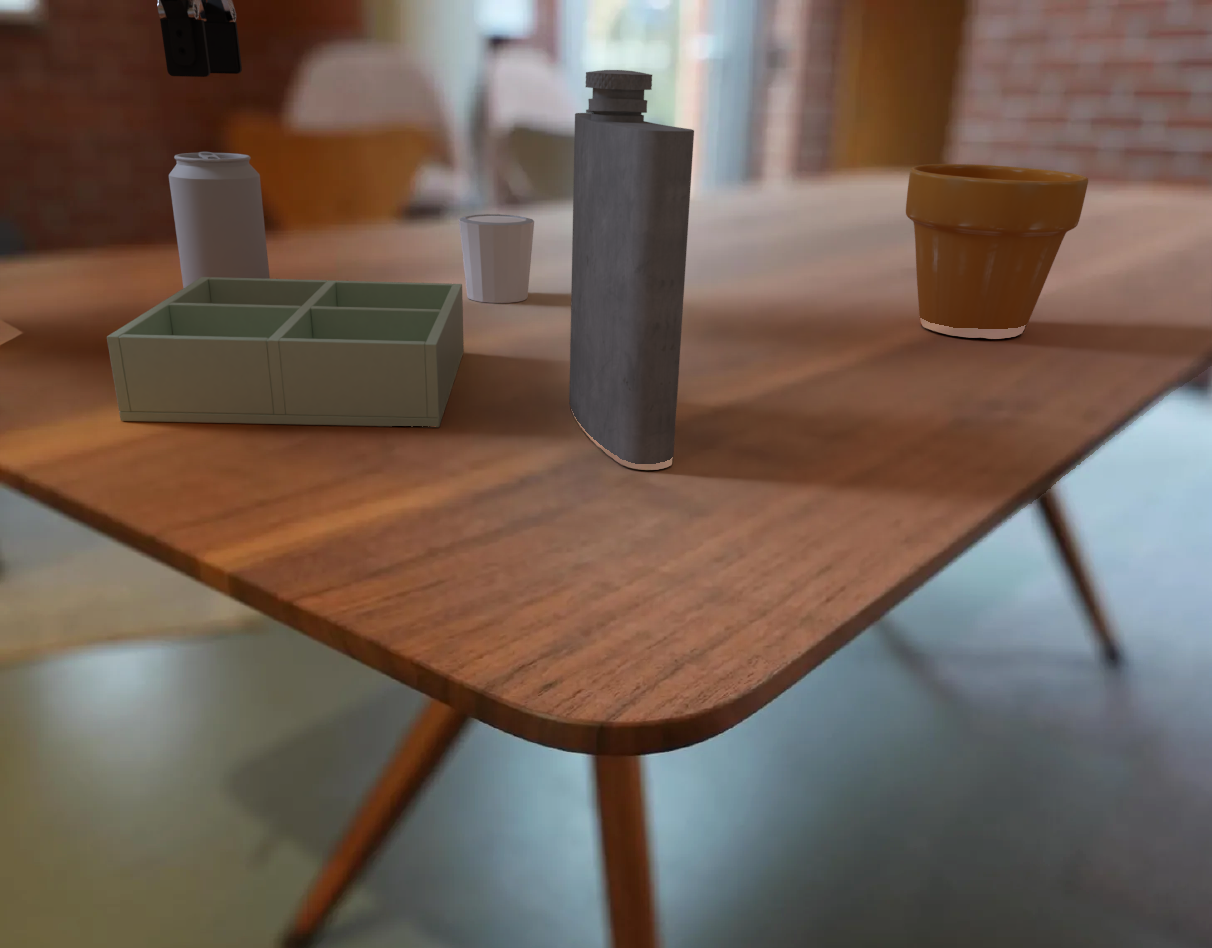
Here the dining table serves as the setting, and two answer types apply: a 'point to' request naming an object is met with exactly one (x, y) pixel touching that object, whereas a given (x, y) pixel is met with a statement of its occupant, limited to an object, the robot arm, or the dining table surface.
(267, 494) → the dining table surface
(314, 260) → the dining table surface
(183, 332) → the compartment tray
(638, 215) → the hip flask
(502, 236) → the shot glass
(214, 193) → the can
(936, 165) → the flower pot
